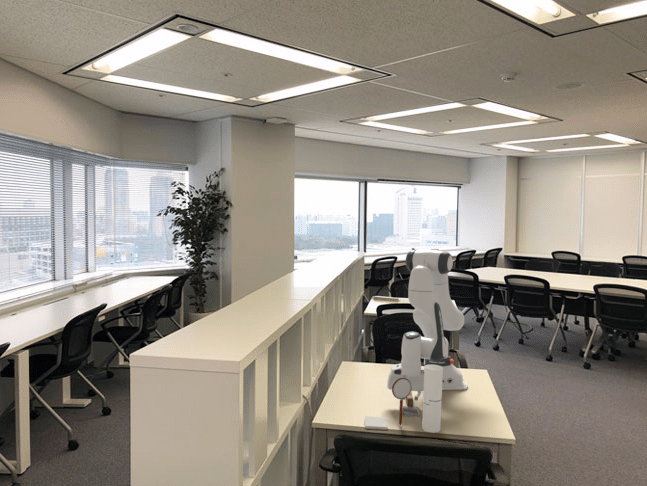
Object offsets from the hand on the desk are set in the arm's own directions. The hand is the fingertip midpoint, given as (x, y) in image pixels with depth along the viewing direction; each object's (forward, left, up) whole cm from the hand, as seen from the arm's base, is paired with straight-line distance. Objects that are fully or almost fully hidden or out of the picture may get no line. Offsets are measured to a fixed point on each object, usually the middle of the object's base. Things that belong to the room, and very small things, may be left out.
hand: (409, 399), depth 222 cm
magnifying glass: (+5, +22, -3) cm, 23 cm away
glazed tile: (+15, +17, -2) cm, 23 cm away
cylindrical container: (-7, +22, -3) cm, 23 cm away
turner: (0, +1, -3) cm, 3 cm away
